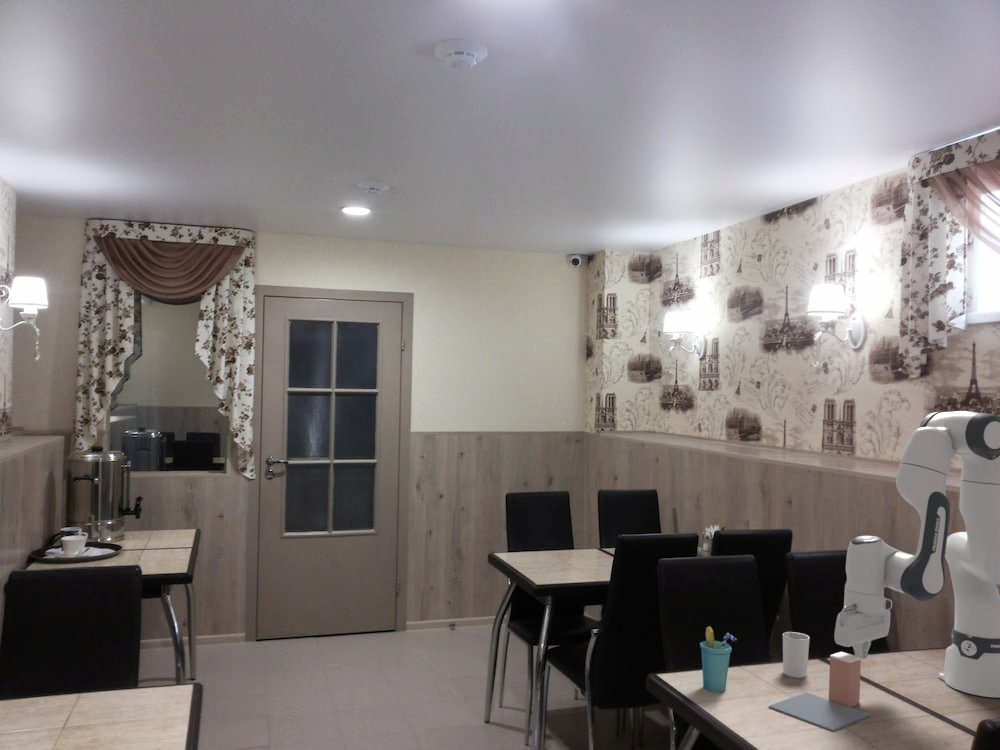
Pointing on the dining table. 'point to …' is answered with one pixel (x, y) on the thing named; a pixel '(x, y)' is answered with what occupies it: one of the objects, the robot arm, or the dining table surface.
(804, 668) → the drinking glass
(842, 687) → the block
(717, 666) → the cup
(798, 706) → the mat
